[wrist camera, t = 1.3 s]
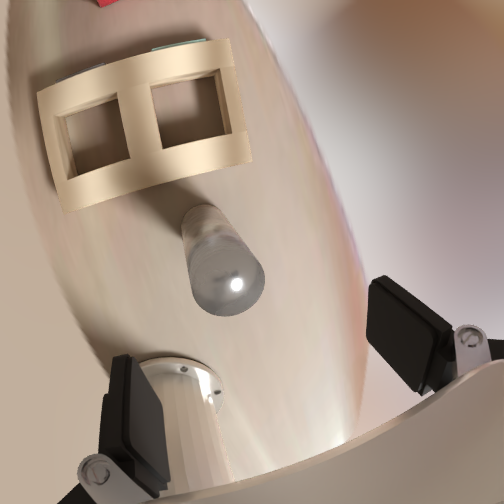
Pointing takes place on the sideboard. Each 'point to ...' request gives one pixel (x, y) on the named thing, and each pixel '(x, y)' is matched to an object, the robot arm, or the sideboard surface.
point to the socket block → (142, 121)
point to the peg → (219, 263)
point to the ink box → (105, 2)
